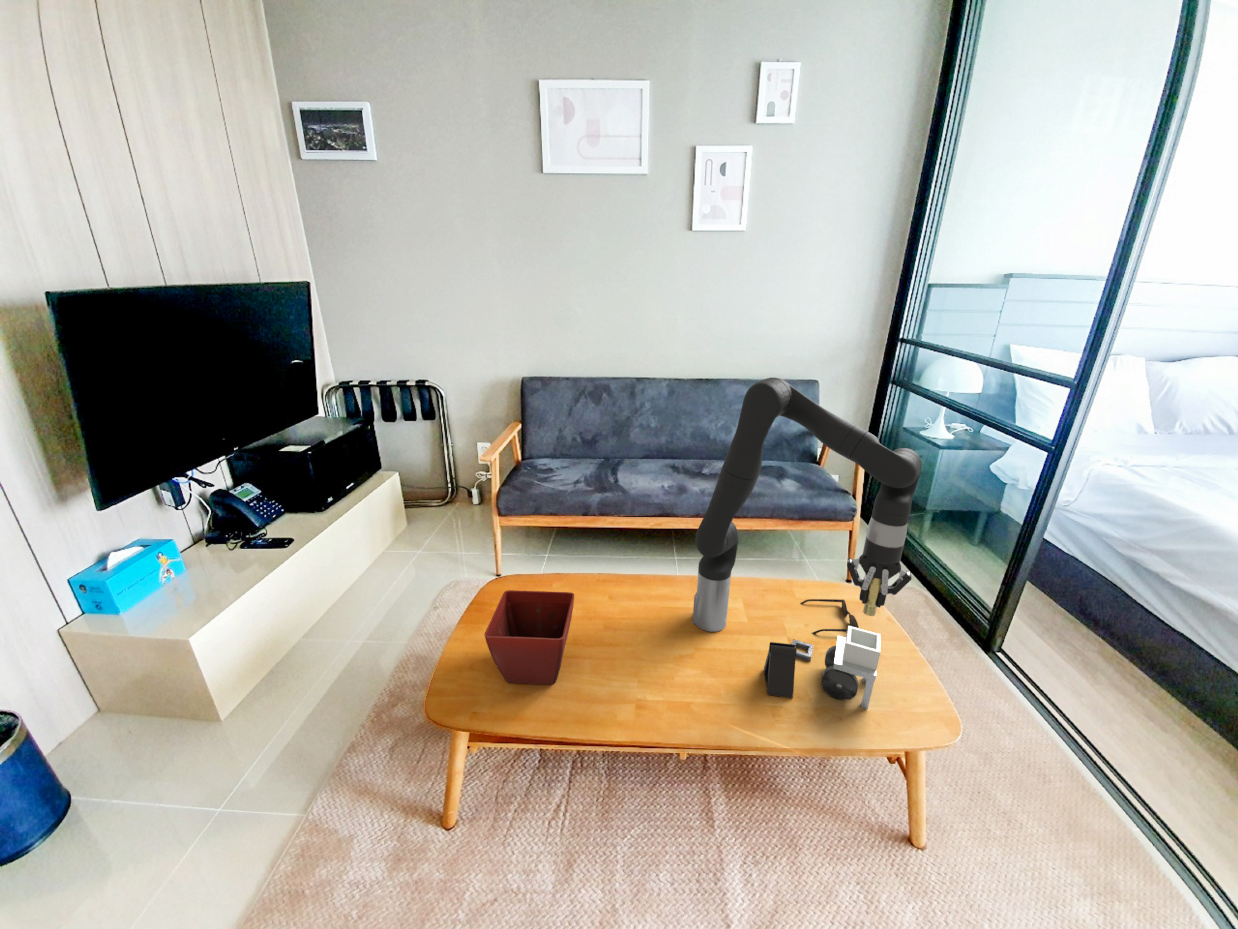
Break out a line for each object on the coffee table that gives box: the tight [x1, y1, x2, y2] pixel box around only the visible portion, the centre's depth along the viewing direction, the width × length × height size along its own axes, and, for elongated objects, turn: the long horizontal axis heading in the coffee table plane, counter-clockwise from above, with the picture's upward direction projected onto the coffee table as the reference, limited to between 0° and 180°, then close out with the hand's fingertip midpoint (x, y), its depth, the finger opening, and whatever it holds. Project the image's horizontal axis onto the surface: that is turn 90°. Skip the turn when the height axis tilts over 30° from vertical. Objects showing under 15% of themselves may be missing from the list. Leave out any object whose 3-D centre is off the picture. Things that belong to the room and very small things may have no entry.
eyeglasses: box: [799, 598, 860, 635], centre depth 151 cm, size 15×15×5 cm
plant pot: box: [484, 589, 575, 685], centre depth 130 cm, size 19×19×17 cm
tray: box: [843, 625, 882, 671], centre depth 122 cm, size 7×7×5 cm
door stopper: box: [763, 641, 798, 699], centre depth 126 cm, size 9×6×12 cm, turn 171°
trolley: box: [820, 635, 877, 710], centre depth 125 cm, size 11×11×10 cm
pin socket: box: [791, 639, 815, 662], centre depth 138 cm, size 5×5×2 cm
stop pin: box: [862, 577, 882, 617], centre depth 116 cm, size 3×3×10 cm
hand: (871, 603), depth 117 cm, fingers closed on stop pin, 2 cm apart
